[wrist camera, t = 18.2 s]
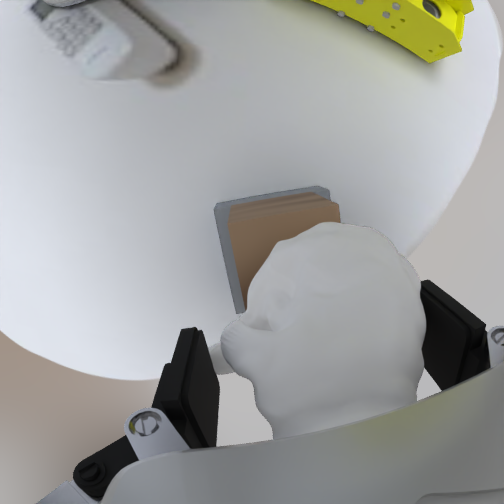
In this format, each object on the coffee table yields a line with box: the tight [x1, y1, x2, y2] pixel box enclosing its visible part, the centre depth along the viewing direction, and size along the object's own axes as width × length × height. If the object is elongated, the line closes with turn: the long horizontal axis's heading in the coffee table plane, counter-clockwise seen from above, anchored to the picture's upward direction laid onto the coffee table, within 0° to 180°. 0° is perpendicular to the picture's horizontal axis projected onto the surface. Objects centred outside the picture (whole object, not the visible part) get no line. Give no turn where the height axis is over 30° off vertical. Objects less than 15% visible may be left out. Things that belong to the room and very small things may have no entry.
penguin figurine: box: [208, 222, 426, 440], centre depth 9 cm, size 6×8×12 cm
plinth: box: [214, 186, 331, 314], centre depth 23 cm, size 8×8×3 cm
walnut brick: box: [227, 192, 341, 311], centre depth 18 cm, size 8×6×6 cm
